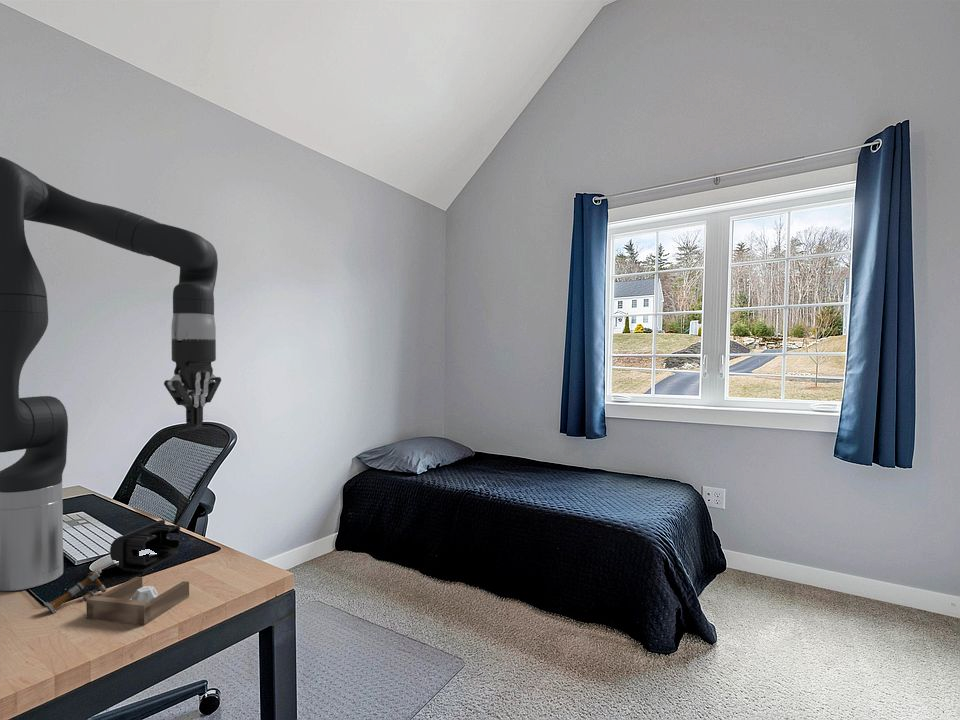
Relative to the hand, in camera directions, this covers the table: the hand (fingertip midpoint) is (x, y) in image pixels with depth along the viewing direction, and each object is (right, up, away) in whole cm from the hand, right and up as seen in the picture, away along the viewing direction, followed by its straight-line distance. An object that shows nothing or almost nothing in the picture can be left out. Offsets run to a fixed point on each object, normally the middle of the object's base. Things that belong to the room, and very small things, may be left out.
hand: (194, 426), depth 99 cm
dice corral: (+1, -27, -16) cm, 32 cm away
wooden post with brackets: (-11, -28, -15) cm, 33 cm away
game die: (+1, -28, -16) cm, 32 cm away
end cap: (-10, -27, +1) cm, 29 cm away
